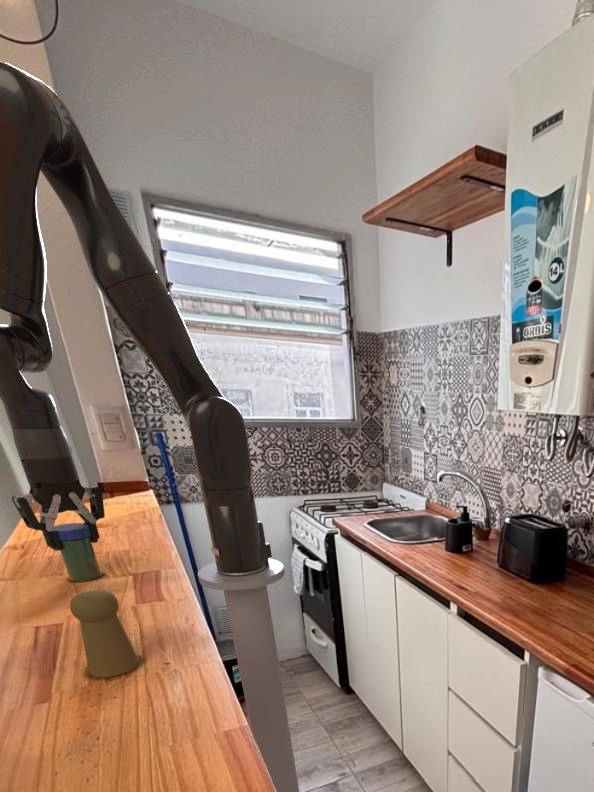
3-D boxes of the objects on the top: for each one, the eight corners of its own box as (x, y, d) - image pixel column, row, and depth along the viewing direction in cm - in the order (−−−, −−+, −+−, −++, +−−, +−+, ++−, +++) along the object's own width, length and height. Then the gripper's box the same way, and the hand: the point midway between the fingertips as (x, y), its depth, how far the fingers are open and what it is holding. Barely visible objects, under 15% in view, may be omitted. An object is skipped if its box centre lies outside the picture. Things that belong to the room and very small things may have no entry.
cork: (149, 659, 75) (129, 588, 70) (114, 680, 69) (89, 604, 64) (114, 653, 76) (92, 583, 71) (77, 673, 70) (50, 599, 65)
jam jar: (92, 570, 106) (77, 524, 101) (107, 575, 103) (92, 528, 99) (64, 578, 101) (47, 529, 97) (79, 583, 99) (62, 534, 95)
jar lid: (80, 530, 102) (77, 521, 101) (97, 535, 100) (94, 526, 99) (47, 537, 98) (43, 527, 97) (64, 542, 95) (60, 532, 94)
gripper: (78, 448, 99) (103, 534, 107) (-14, 455, 88) (21, 551, 95) (100, 452, 96) (125, 540, 104) (8, 460, 85) (43, 558, 92)
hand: (75, 545), depth 99 cm, fingers closed on jar lid, 5 cm apart
